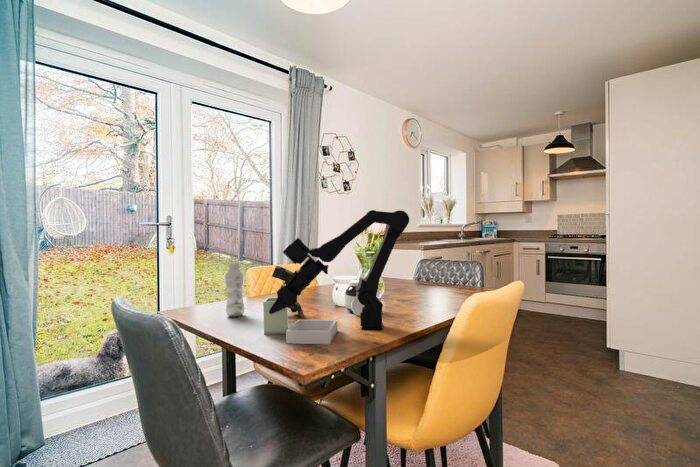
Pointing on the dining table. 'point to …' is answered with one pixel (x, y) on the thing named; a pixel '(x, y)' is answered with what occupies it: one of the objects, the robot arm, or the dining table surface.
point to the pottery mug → (296, 309)
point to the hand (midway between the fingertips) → (271, 310)
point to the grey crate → (311, 332)
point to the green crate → (274, 319)
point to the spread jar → (353, 299)
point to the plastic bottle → (234, 290)
